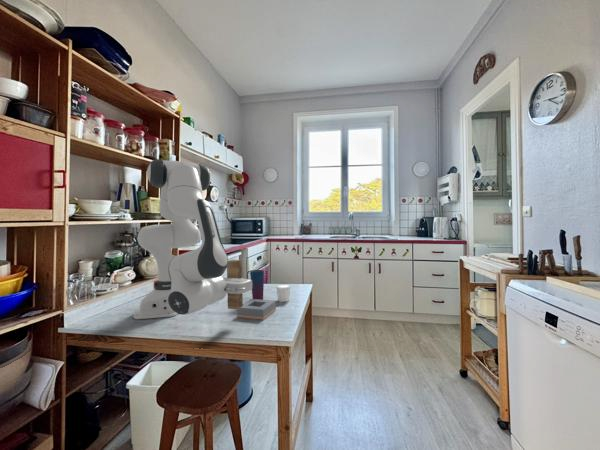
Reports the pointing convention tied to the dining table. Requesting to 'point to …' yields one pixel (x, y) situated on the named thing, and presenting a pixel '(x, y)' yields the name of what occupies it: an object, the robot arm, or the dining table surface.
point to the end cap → (257, 309)
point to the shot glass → (283, 292)
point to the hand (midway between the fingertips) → (236, 279)
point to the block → (234, 272)
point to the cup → (257, 283)
